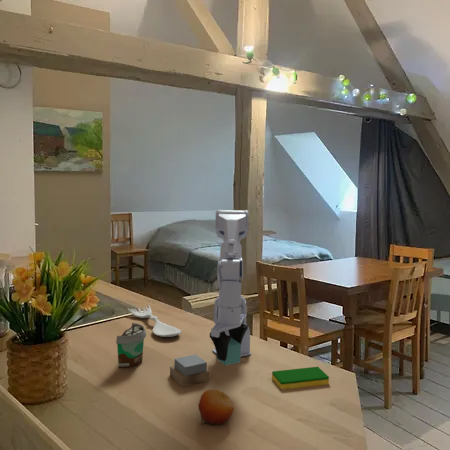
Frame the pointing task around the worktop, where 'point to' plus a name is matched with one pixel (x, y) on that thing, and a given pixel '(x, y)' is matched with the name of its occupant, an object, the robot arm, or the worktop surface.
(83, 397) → the worktop surface
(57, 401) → the worktop surface
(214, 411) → the fruit
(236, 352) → the teal block
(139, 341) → the food container
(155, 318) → the spoon
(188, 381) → the walnut slab
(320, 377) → the dish sponge
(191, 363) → the gray block
